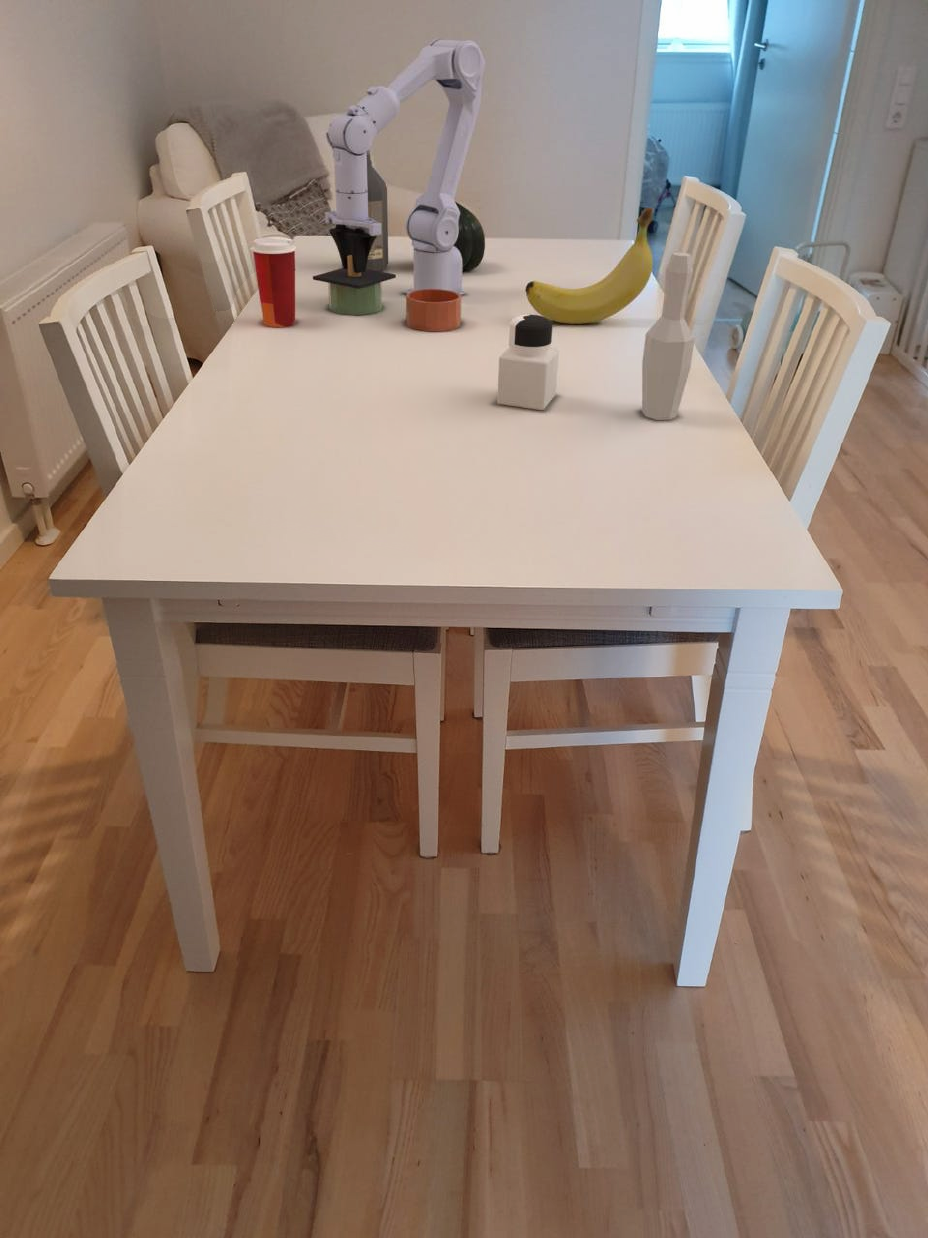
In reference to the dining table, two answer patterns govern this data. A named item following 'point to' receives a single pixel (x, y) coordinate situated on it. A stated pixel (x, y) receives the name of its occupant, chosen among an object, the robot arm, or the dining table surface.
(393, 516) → the dining table surface
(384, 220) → the liquor
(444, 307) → the terracotta cup
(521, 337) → the medicine bottle
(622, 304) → the banana
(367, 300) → the sage cup
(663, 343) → the faceted bottle
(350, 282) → the dark square pegged slab
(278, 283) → the paper cup
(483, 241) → the squash
